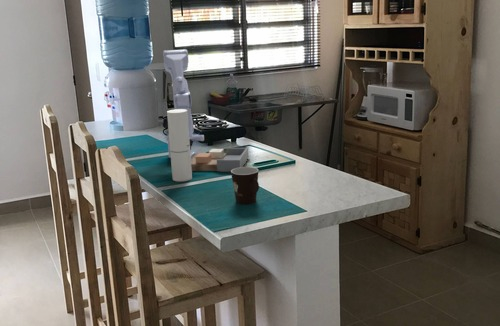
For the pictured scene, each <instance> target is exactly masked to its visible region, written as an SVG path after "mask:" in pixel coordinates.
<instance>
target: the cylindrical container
mask: <svg viewBox="0 0 500 326" xmlns="http://www.w3.org/2000/svg"><path fill="white" fill-rule="evenodd" d="M166 115H167V128H168V135H169V142H170V154H171V158H170V163H171V164H170V165H171V177H172V180H173V181H175V182H187V181H190V180H192V179H193V171H192V168H191V157H192V156H191V154H190V140H189V127H188V113H187V110H185V109H175V108H174V109H170V110H167V111H166Z"/></svg>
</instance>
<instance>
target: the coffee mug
mask: <svg viewBox="0 0 500 326" xmlns="http://www.w3.org/2000/svg"><path fill="white" fill-rule="evenodd" d="M259 172H260V171H259V169H258V168H257V167H253V166H243V167H239V168H235V169H232V170H231V172H230V174H231V180H232V186H233V191H234V198H235V202H236V204H239V205H252V204H254V203H256V202H257V196H258V195H257V194H258V192H259V190H260V184H259Z"/></svg>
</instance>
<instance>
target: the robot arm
mask: <svg viewBox="0 0 500 326" xmlns="http://www.w3.org/2000/svg"><path fill="white" fill-rule="evenodd" d="M188 52H189V51H188V50H187V49H186V48H183V49H170V50H169V49H168V50H165V49H164V50H163V51H162V55H163V56H162V57H163V65H164V66H163V67H164V70H165V72H167V73H169V75H170V76H171V82H172V83H171V84H172V86H171V87H172V94H173V95H172V96H173V107H174V110H175V109H185V110H187V113H188V127H189V140H190V154H191V157H192V156H193V155H194V154H195V153H196V152H195V151H193V150H192V146H193V144H194V141H198V142H199V141H200V142H204V141H205V135H204V134H193V133H194V130H195V129H194V122H193V116H192V110H191V108H192V106H193V105H192V104H193V103H192V95H191V92H190V90H189V85H188V81H187V79H186V78H185V77H184V73H185V72H186V71H187V70H188V67H189V53H188ZM166 142H167V149H168V150H167V151H168V157H167V158H170V159H171V154H170V142H169V134H168V135H166Z"/></svg>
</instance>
